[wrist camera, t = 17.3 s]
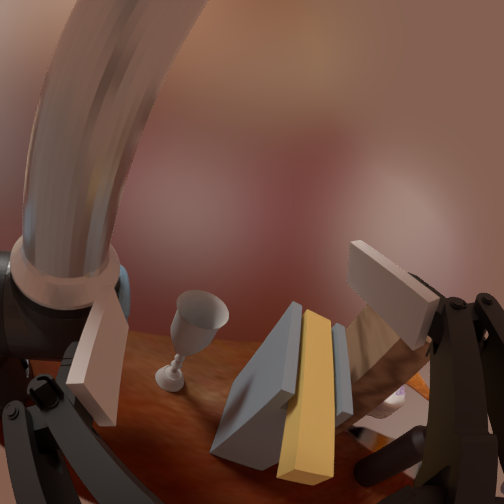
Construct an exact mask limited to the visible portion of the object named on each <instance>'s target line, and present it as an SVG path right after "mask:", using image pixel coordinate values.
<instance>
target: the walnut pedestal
mask: <svg viewBox="0 0 504 504" xmlns="http://www.w3.org/2000/svg"><path fill="white" fill-rule="evenodd" d="M345 333H346V341H347V350H348V358H349V368H350V378H351V390H352V402H353V415H352V416H351V417H350V418H348V419H347V420H345V421H344V422H343V423H341V424H340V425H338V426H337V427H335V436H336V435H338V434H339V433H341V432H342V431H344V430H345V429H347V428H348V427H350V426H351V425H353V424H354V423H356V422H357V421H358V420H360V419H361V418H362V417H364V416H365V415H367V414H368V413H369V412H371V411H372V410H373V409H374V408H376V407H377V406H378V405H380V404H381V403H382V402H383V401H385V400H386V399H387V398H388V397H390V396H391V395H392V394H393V393H394V392H396V391H397V390H398V389H399V388H400V387H401V386H403V384H405V383H406V382H407V381H408V380H409V379H410V378H411V377H413V376H414V375H415V374H416V373H417V372H418V371H419V370H420V369H421V368H422V367H423V366H424V365H425V364H426V363H427V362H428V361H429V360H430V353H429V354H428V356H427V357H425V356H426V352H427V350H428V348H429V345H430V343H431V340H432V339H431V338H430V337H429V336H427V338H426V341H425V344H424V345H423V346H421V347H419V348H417V349H415V350H412V349H411V348H410V347H409V346H408V345H407V344H406V343H405V342H404V341H403V340H402V339H401V338H400V337H399V336H398V335H397V334H396V332H395V331H394V330H393V329H392V328H391V327H390V326H389V325H388V324H387V323H386V322H385V321H384V320H383V319H382V318H381V317H380V316H379V315H378V314H377V313H376V312H375V311H374V310H373V309H372V308H371V307H370V306H369V305H368V304H367V305H366V306H365V308H364V309H363V310H362V311H361V313H360V314H359V315H358V316H357V317H356V319H355V320H354V321H353V322H352V323H351V324H350V326H349V327H348V328H347V329H346V330H345Z"/></svg>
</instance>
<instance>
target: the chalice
mask: <svg viewBox="0 0 504 504" xmlns="http://www.w3.org/2000/svg"><path fill="white" fill-rule="evenodd" d="M176 305H177V312H176V315H175V317H174V320H173V322H172V325H171V338H172V342H173V345H174V348H175V351H176V352H177V353H178V354H176V355H175V360H173V361H172V362H171V365H167V366H165V367H163V368H161V369H159V370H158V371H157V373H156V377H155V378H156V382H157V383H158V385H159V386H160V387H161V388H162V389H164V390H166V391H170V392H176V391H178V390H180V389H181V388H182V387H183V385H184V379H183V374H182V372H181V370H180V368H181V367H182V363H181V362H183V361H184V360H185V357H187V356H190V355H193V354H195V353H198V352H200V351H201V350H202V349H204V348H205V347H207V346H208V345H209V344H210V343H211V341H212V339H213V337H214V336H215V334H216V332H217V330H218V329H219V328H220V327H222V326H223V325H224V324H226V322H227V320H228V318H229V313H228V310H227V307H226V306H225V304H224V303H223V302H222V301H221V300H220V299H219V298H217V297H216V296H214V295H212V294H210V293H208V292H205V291H201V290H190V291H186V292H184V293H182V294H181V295H180V296H179V297H178V299H177V303H176Z"/></svg>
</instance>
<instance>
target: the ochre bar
mask: <svg viewBox="0 0 504 504" xmlns="http://www.w3.org/2000/svg"><path fill="white" fill-rule="evenodd" d="M334 441H335V406H334V371H333V350H332V334H331V321H330V320H328V319H326V318H324V317H322V316H320V315H318V314H316V313H314V312H312V311H310V310H308V309H307V310H306V312H305V313H304V315H303V316H302V317H301V329H300V342H299V354H298V366H297V376H296V386H295V395H293V396H292V397H291V398H290V399H289V400H288V406H287V414H286V421H285V428H284V435H283V441H282V448H281V454H280V460H279V466H278V472H277V478H280V479H284V480H289V481H293V482H298V483H303V484H308V485H316V484H318V483H321V482H323V481H325V480H328V479H330V478H332V477H333V474H334Z"/></svg>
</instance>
